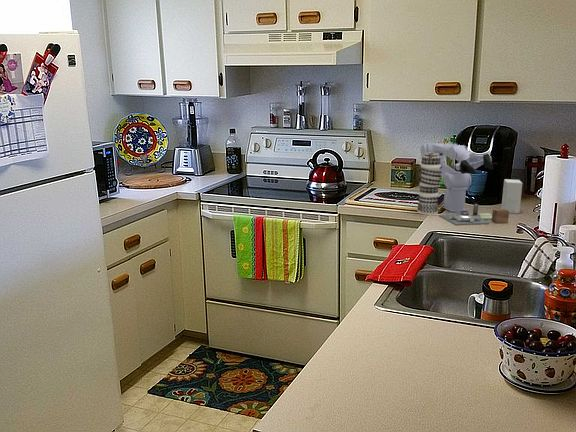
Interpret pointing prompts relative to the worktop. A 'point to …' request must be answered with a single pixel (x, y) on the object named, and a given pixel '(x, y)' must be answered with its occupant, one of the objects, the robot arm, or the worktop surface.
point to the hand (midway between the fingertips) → (483, 169)
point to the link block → (500, 216)
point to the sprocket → (466, 215)
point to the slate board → (463, 221)
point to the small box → (512, 195)
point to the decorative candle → (429, 183)
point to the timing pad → (486, 216)
